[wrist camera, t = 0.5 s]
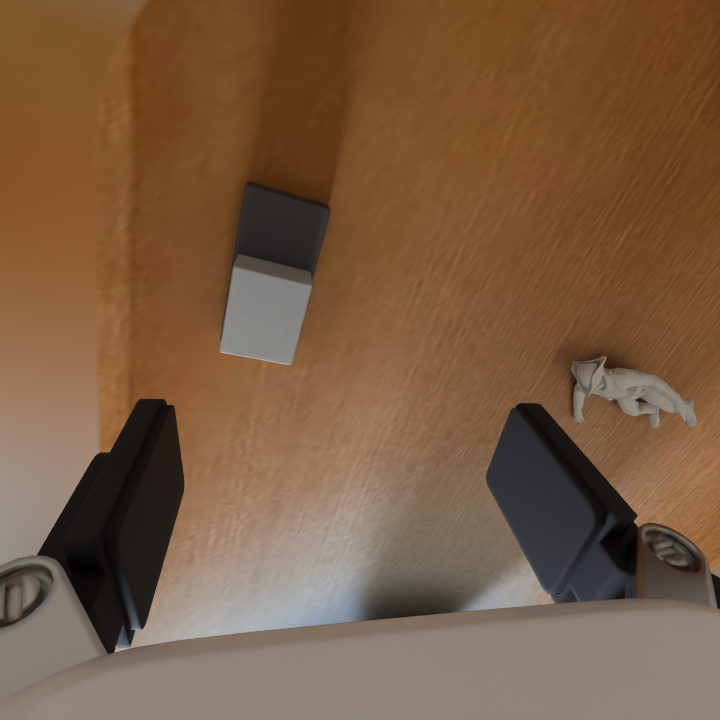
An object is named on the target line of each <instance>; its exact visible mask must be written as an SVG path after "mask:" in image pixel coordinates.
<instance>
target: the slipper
mask: <svg viewBox="0 0 720 720" xmlns="http://www.w3.org/2000/svg"><path fill="white" fill-rule="evenodd" d="M329 215H330V208H329V206H327V205H324V204H321V203H317V202H314V201H311V200H308V199H304V198H301V197H298V196H294V195H291V194H288V193H284V192H281V191H278V190H274V189H271V188H268V187H265V186H261V185H258V184H255V183H251V182H248V183H247V184H246V185H245V191H244V197H243V203H242V209H241V215H240V222H239V228H238V234H237V240H236V246H235V252H234V258H233V264H232V270H231V277H230V283H229V289H228V295H227V301H226V307H225V313H224V319H223V325H222V332H221V338H220V340H221V344H220V352H222V353H228V354H233V355H239V356H244V357H249V358H255V359H260V360H265V361H271V362H276V363H282V364H287V365H291V364H292V361H293V358H294V354H295V350H296V346H297V342H298V339H299V335H300V331H301V327H302V324H303V320H304V316H305V312H306V308H307V305H308V301H309V297H310V293H311V289H312V280H313V276H314V272H315V268H316V264H317V260H318V257H319V253H320V249H321V245H322V241H323V238H324V234H325V230H326V226H327V222H328V218H329Z"/></svg>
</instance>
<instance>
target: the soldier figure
mask: <svg viewBox="0 0 720 720" xmlns="http://www.w3.org/2000/svg"><path fill="white" fill-rule="evenodd" d="M605 360H606V356H602V357H600V358H597V359H594V360H589V361H584V362H578V361H572V367H571V371H572V373H573V374H574V376H575V377H576V379H577V384H576V385H575V387H574V395H573V407H574V419H575V421H577V422H579V423H580V422H581V423H583V422H582V420H583V421H585V420H584V418H583V415H582V411H581V408H582V407H583V404H584V398H585V397H586V398H589V396H590V394H591V393H592V394H596V395H598V396H602V397H603V398H605V399H607V400H613V399H615V400H617V402H618V404H619V406H620V407H621V409H622V411H623V412H624V413H626V414H628V415H630V416H638V415H640V414H648V422H649V424H650V426H651V427H653V428H657V427H658V426H659V424H660V418H659V410H660V408H661V409H662V410H664V411H666V412H668V413H673V412H675V413H677V412H678V413H679V414H680V415H681V417H682V418H683V420H684V421H685V422H686V424H687V425H688V426H690V427H694V426H696V424H697V417H696V415H695V413H694V410H693V407H694V402H693V401H692V400H688V399H687V400H685V401H683V400H682V399H681V398H680V396H681V395H679V394H678V393H677V392H676V391H675V390H673V389H672V388H671V387H670V386H669V385H668V384H667V383H666V382H665V381H663V380H662V379H661V378H660V377H658V376H657V375H655V374H652V373H645V372H642V371H639V370H633V369H625V368H618V367H617V368H615V369H607V368H606V367H603V366H604V363H605ZM640 397H641V398H642V399H644V400H645V401H647V402H648V403H645V402H641V403H639V402H638V401H636V399H638V398H640ZM581 419H582V420H581Z"/></svg>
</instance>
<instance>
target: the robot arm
mask: <svg viewBox="0 0 720 720" xmlns="http://www.w3.org/2000/svg"><path fill="white" fill-rule="evenodd" d="M486 481H487V485H488V487H489V489H490V491H491V492H492V494H493V496H494V498H495V500H496V502H497V504H498V506H499V507H500V509H501V511H502V513H503V515H504V517H505V519H506V520H507V522H508V524H509V526H510V528H511V530H512V532H513V534H514V535H515V537H516V539H517V541H518V543H519V545H520V547H521V548H522V550H523V552H524V554H525V556H526V558H527V560H528V562H529V563H530V565H531V567H532V569H533V571H534V573H535V575H536V576H537V578H538V580H539V582H540V584H541V586H542V587H543V589H544V590H545V591H546V592H547V593H548V594H551V596H552V598H553V600H554V602H555V604H547V605H536V606H524V607H512V608H501V609H489V610H478V611H467V612H456V613H445V614H434V615H423V616H412V617H402V618H391V619H380V620H369V621H359V622H348V623H338V624H328V625H318V626H307V627H297V628H287V629H277V630H266V631H256V632H247V633H239V634H230V635H221V636H213V637H204V638H195V639H187V640H178V641H172V642H166V643H160V644H154V645H147V646H141V647H136V648H131V649H127V650H123V651H119V652H115V653H114V651H115V648H125V647H130V646H131V643H132V639H133V636H134V633H135V630H138V629H143V628H144V626H145V624H146V621H147V618H148V615H149V611H150V608H151V604H152V601H153V597H154V594H155V590H156V587H157V583H158V580H159V576H160V573H161V569H162V566H163V562H164V559H165V556H166V552H167V549H168V545H169V542H170V538H171V535H172V531H173V528H174V524H175V521H176V517H177V514H178V510H179V507H180V503H181V500H182V496H183V492H184V474H183V467H182V460H181V452H180V445H179V437H178V430H177V422H176V415H175V408H174V406H173V405H167V403H166V400H164V399H140V400H139V401H138V402H137V404H136V405H135V407H134V409H133V411H132V413H131V415H130V416H129V418H128V420H127V422H126V424H125V426H124V427H123V429H122V431H121V433H120V435H119V437H118V439H117V440H116V442H115V444H114V446H113V448H112V450H111V451H110V453H99V454H97V455H96V456H95V457H94V458H93V460H92V461H91V463H90V465H89V467H88V468H87V470H86V472H85V473H84V475H83V477H82V479H81V480H80V482H79V484H78V486H77V487H76V489H75V491H74V493H73V494H72V496H71V498H70V499H69V501H68V503H67V504H66V506H65V508H64V510H63V511H62V513H61V515H60V516H59V518H58V520H57V521H56V523H55V525H54V527H53V528H52V530H51V532H50V533H49V535H48V537H47V539H46V540H45V542H44V544H43V546H42V547H41V549H40V551H39V552H38V554H37V556H28V557H23V558H18V559H16V560H13V561H11V562H8V563H6V564H3V565H1V566H0V720H720V578H719V577H717V576H715V575H713V574H712V573H711V571H710V567H709V564H708V561H707V559H706V557H705V556H704V555H703V553H702V552H701V551H700V549H699V548H698V547H697V546H696V545H695V544H693V543H692V542H691V541H690V540H689V539H687V538H686V537H685V536H683V535H682V534H680V533H679V532H677V531H675V530H673V529H671V528H669V527H666V526H663V525H660V524H655V523H646V524H643V525H641V526H640V527H639V528H638V526H637V525H636V524H635V523H634V520H635V519H636V517H637V516H638V515H637V514H636V513H635V512H634V511H633V510H632V508H631V507H630V506H629V505H628V504H627V503H626V502H625V500H624V499H623V498H622V497H621V496H620V495H619V494H618V492H617V491H616V490H615V489H614V488H613V487H612V486H611V484H610V483H609V482H608V481H607V480H606V479H605V478H604V476H603V475H602V474H601V473H600V472H599V471H598V470H597V468H596V467H595V466H594V465H593V464H592V463H591V462H590V460H589V459H588V458H587V457H586V456H585V455H584V454H583V452H582V451H581V450H580V449H579V448H578V447H577V445H576V444H575V443H574V442H573V441H572V440H571V439H570V437H569V436H568V435H567V434H566V433H565V432H564V431H563V429H562V428H561V427H560V426H559V425H558V424H557V423H556V421H555V420H554V419H553V418H552V417H551V416H550V415H549V413H548V412H547V411H546V410H545V409H544V408H543V407H542V406H541V405H540V404H537V403H520V404H518V405H517V406H516V407H515V408H513V409H512V410H511V411H510V413H509V416H508V418H507V421H506V424H505V426H504V429H503V432H502V434H501V437H500V439H499V442H498V445H497V447H496V450H495V453H494V455H493V458H492V460H491V463H490V466H489V468H488V471H487V474H486Z"/></svg>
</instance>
